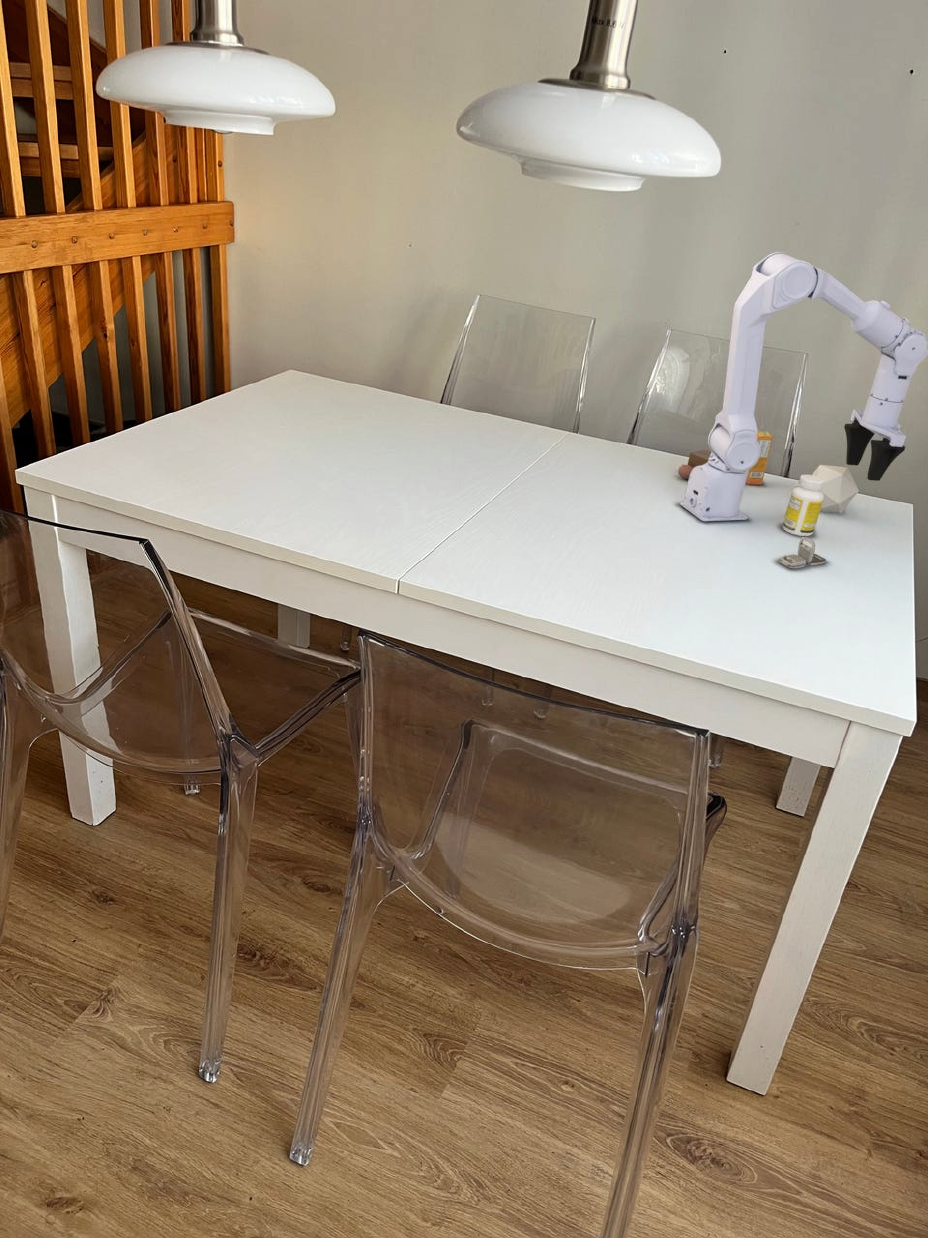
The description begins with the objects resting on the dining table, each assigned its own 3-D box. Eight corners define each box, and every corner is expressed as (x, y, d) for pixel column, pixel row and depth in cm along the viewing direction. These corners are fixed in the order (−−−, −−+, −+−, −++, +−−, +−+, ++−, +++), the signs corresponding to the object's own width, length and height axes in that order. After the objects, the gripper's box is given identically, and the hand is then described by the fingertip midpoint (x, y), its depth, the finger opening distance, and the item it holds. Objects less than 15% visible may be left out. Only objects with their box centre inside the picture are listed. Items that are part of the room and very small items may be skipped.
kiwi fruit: (706, 480, 189) (709, 467, 188) (686, 482, 186) (689, 469, 185) (687, 470, 193) (689, 457, 192) (667, 472, 190) (670, 460, 189)
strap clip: (790, 569, 155) (797, 545, 153) (776, 561, 158) (783, 538, 156) (826, 563, 159) (834, 539, 157) (812, 555, 162) (820, 532, 160)
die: (841, 525, 178) (876, 481, 177) (805, 496, 176) (839, 451, 176) (821, 523, 186) (854, 481, 185) (786, 495, 185) (819, 453, 184)
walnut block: (704, 485, 187) (710, 460, 184) (684, 476, 190) (690, 452, 188) (720, 481, 190) (726, 457, 187) (700, 473, 193) (706, 449, 191)
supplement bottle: (814, 529, 172) (830, 477, 168) (810, 539, 168) (827, 486, 163) (783, 521, 174) (798, 470, 169) (779, 531, 170) (794, 478, 165)
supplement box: (739, 478, 193) (752, 429, 188) (756, 479, 193) (769, 431, 189) (745, 484, 190) (758, 435, 185) (762, 485, 190) (775, 436, 186)
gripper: (931, 411, 162) (904, 488, 168) (885, 387, 174) (862, 459, 181) (893, 408, 160) (867, 486, 167) (850, 384, 173) (827, 457, 179)
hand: (862, 472), depth 174 cm, fingers open, 7 cm apart
